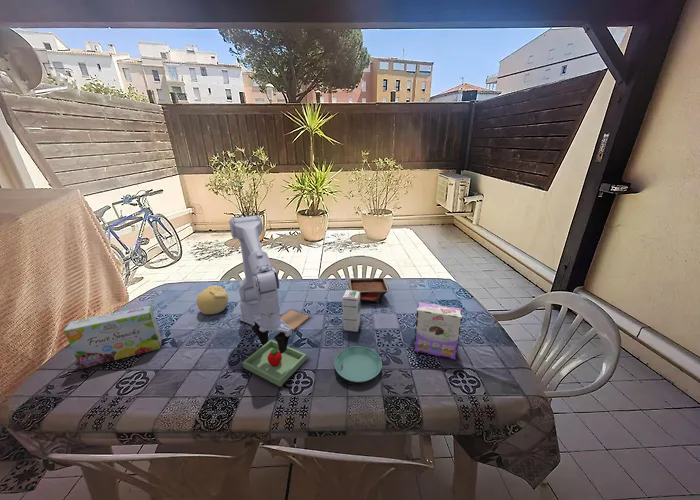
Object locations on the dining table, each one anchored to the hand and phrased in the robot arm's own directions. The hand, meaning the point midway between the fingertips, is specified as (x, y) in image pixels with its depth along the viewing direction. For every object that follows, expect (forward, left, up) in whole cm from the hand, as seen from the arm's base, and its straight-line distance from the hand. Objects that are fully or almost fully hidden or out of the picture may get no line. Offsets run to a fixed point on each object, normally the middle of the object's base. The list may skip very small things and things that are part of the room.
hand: (274, 347), depth 84 cm
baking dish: (+8, +52, -7) cm, 53 cm away
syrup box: (+12, +29, -7) cm, 32 cm away
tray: (0, 0, -7) cm, 7 cm away
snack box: (-48, -21, -7) cm, 53 cm away
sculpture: (-45, +11, -7) cm, 47 cm away
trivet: (-11, +21, -7) cm, 25 cm away
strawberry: (0, 0, -6) cm, 6 cm away
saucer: (+24, +11, -7) cm, 27 cm away
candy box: (+43, +31, -7) cm, 53 cm away
